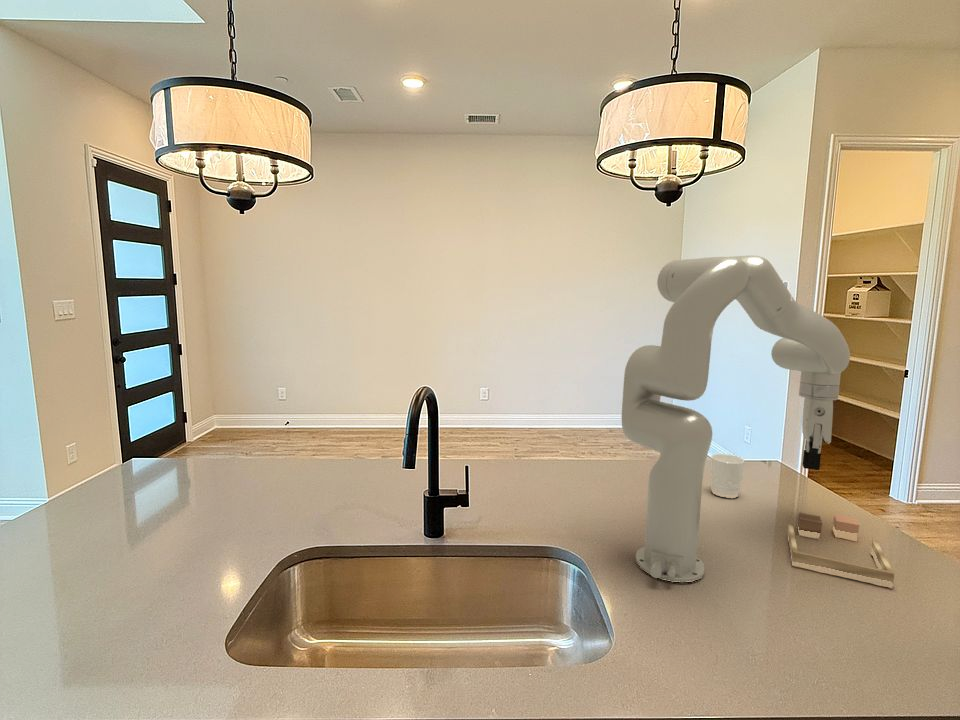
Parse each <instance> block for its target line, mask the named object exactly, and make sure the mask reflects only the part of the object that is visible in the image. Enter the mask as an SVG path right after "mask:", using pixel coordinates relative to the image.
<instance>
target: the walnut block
mask: <svg viewBox="0 0 960 720" xmlns="http://www.w3.org/2000/svg"><path fill="white" fill-rule="evenodd" d="M797 517H798V518H797V524H798V527H799V530H804V531H810V532H817V533H821V534H822V526H823V522H822V519H821V516H819V515H815V514H810V513H805V512H804V513H803V512H798V516H797Z"/></svg>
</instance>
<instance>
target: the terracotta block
mask: <svg viewBox="0 0 960 720" xmlns="http://www.w3.org/2000/svg"><path fill="white" fill-rule="evenodd" d="M833 524H834V527H835V529H836V530H840V531H845V532H850V533H858V534H859V527H860V525H859V522H858V520H857V518H856V517H851V516H846V515H841V514H835V513H834V514H833V521H832V525H833Z"/></svg>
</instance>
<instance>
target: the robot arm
mask: <svg viewBox="0 0 960 720" xmlns="http://www.w3.org/2000/svg"><path fill="white" fill-rule="evenodd" d="M656 281H657V282H656V284H657V285H656V286H657V289H658V292H659V294H660V295H661V296H662V298H664V299H665V300H667V301H668V302H671V303H673V304H672V305H671V306H670V308H669V309H668V312H667V313H666V315H665V319H664V321H663V328H662V336H661V341H660V342H661V343H660V345H655V344H654V345H653V344H650V345H643V346H641V347H638V348H637V349H635V350H634V351H633V352H632V353H631V355H630V357H628V360H627V362H626V365H625V369H624V375H623V389H622V390H623V391H622V402H621V403H622V404H621V405H622V406H621V427H622V431H623V433H624V435H625V437H626V438H627V439H628V440H629V441H631V442H633V443H635V444H637V445H639V446H641V447H645V448H648V449H650V450H653V451H655V452H658V453H659V458H658V459H657V460H656V462H655V463H654V464H653V466H652V467H651V469H650V472H649V474H648V483H647V486H648V487H647V488H648V489H647V499H646V501H647V502H646V503H647V504H646V515H645V518H646V519H645V532H644V533H645V535H644V546H643V547H640V548H639V549H638V550H637V551H636V553H635V563H636V562H637V563H636V565H637V564H638V565H639V566H640V567H641V568H642V569H643V570H644V571H646V572H648V573H649V574H651V577H652V578H655V579H657V578H661V579H666V580H670V581H678V582H679V581H680V582H686V581H693V580H697V579H699V578H701V577H702V576H703V575H705V571H706V569H705V564H704V562H703V561H702V560H701V559H700V558H699V557H698V556H697V554H698V545H699V544H698V543H699V530H700V519H701V507H702V506H701V504H702V493H703V492H702V491H703V490H702V489H703V481H704V480H703V478H704V472H705V465H706V461H707V457H708V453H709V451H710V447H711V445H712V440H713V428H712V425H711V423H710V421H709V420H708V418H707V417H705V416H704V415H703V414H701V412H699V411H697V410H695V409H692V408H689V407H685V406H681V405H676V404H672V403H667V402H664V401H661V397H665V398H668V399H673V400H679V401H688V402H689V401H695V400H698V399H700V398H701V397H703V395H704V393H705V391H706V389H707V386H708V381H709V373H710V363H711V362H710V360H711V351H712V350H711V349H712V339H713V334H714V328H715V325H716V322H717V320H718V319H719V317H720V315H721V314H722V313H723V312H724V310H725V309H726V308H727V307H728V306H729V305H730V304H731V303H732V302H734V300H736V301H737V302H738V303H739V304H740V306H741V308H742V309H743V310H744V311H745V313H746V314H747V315H748V317H749V318H750V320H751V322H752V323H753V324H754V325H755V327H757V328H758V329H760V330H762V331H764V332H767V333H769V334H771V335H773V336H774V335H775V336H777V337H779V338H780V337H781V338H780V339H778V340H777V341H776V342H775V343H774V345H773V346H772V349H771V359H772V361H773V362H774V363H775V364H776V365H777V366H778V367H779V368H782V369H786V370H791V371H796V372H797V371H798V372H800V380H799V389H798V396H799V397H802V398H804V399H803V400H804V401H803V409H802V418H801V419H802V421H801V422H802V424H801V426H802V427H801V428H802V429H801V430H802V435H803V438H804V440H805V441H804V442H805V444H804V450H803V456H802V467H803V468H802V469H807V470H813V471H814V470H815V471H819V470H820V468H821V467H820V466H821V458H822V457H821V456H822V452H821V451H822V444H823V441H824V442H825V444H828V445H829V444H830V443H832V431H833V429H832V428H833V419H834V417H833V416H834V415H833V414H834V401H838V400H839V395H840V393H839V392H840V384H841V375H842V372H844V371H845V370H846V369H847V368H848V366H849V363H850V362H851V361H850V360H851V354H850V353H851V351H850V348H849V345H848V343H847V341H846V338H845V337H844V335H843V334H842V332H841V330H840V329H839V328H838V326H837V325H836V324H834V322H833V321H831V320H830V319H828V318H826V317H825V316H823V315H821V314H819V313H818V312H816V311H814V310H813V309H810V308H809V307H807V306H805V305H803V304H801V303H799V302H797V301H796V300H795V299H794V297H793V295H792V293H791V292H790V291H789V289H788V288H787V286H786V284H785V283H784V282H783V280H782V279H781V277H780V275H779V274H778V272H777V270H776V268H775V267H774V266H773V264H772V263H771V262H770V261H769V260H768V259H766V258H765V257H763V256H760V255H738V256H737V255H736V256H712V257H702V258H701V257H700V258H688V259H676V260H672V261H670V262H668V263H666V264H665V265H664V266H663V267H662V268H661V270H660V271H659V273H658V276H657V279H656ZM638 565H637V566H638ZM639 566H638V567H639ZM640 567H639V568H640ZM641 568H640V569H641ZM642 569H641V570H642ZM643 570H642V571H643ZM644 571H643V572H644ZM649 574H648V575H649ZM703 577H704V576H703ZM703 577H702V578H703ZM702 578H701V579H702Z"/></svg>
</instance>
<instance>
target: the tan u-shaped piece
mask: <svg viewBox="0 0 960 720" xmlns="http://www.w3.org/2000/svg"><path fill="white" fill-rule="evenodd" d="M794 529H795V528H794V525H793V524H790V523H788V525H787V533H788V537H789V544H790V550H791V556H792V561H793V562H799V563H805V564H809V565H815V566H821V567H826V568H831V569H835V570H839V571H843V572H847V573H852V574H857V575H862V576H866V577H871V578H877V579H881V580H887V581H891V582H893V583H894V579H895V572H894V570H893V569H892V566H891V565H890V563H889V560H888V559H887V557H886V555H885V553H884V552H883V550H882V548H881V546H880V544H879V543H878V541H877V540H873V539H872V541H871V546H872V548H873V550H874V552H875V554H876V556H877V559H878V561H879V563H880V565H881V567H882V569H878V568H877V567H872V566H867V565H862V564H859V563H855V562H854V563H853V562H850V561H849V562H848V561H844V560H839V559H835V558H831V557H825V556H821V555H816V554H813V553H812V554H811V553H807V552H802V551H799V550H798V545H797V541H796V535H795V530H794Z"/></svg>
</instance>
